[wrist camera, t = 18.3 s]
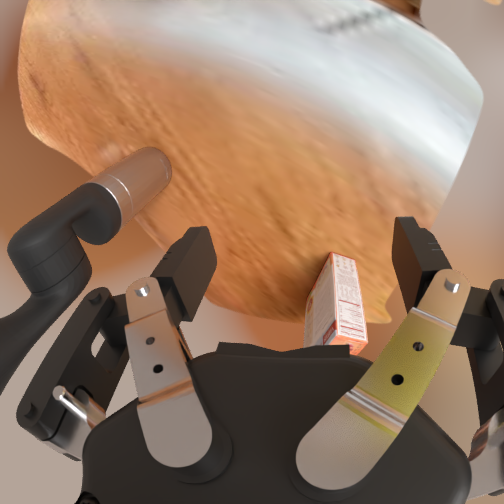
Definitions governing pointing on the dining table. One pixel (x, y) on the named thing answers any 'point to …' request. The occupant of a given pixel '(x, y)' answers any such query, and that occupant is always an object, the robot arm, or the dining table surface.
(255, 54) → the dining table surface
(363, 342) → the cracker box
